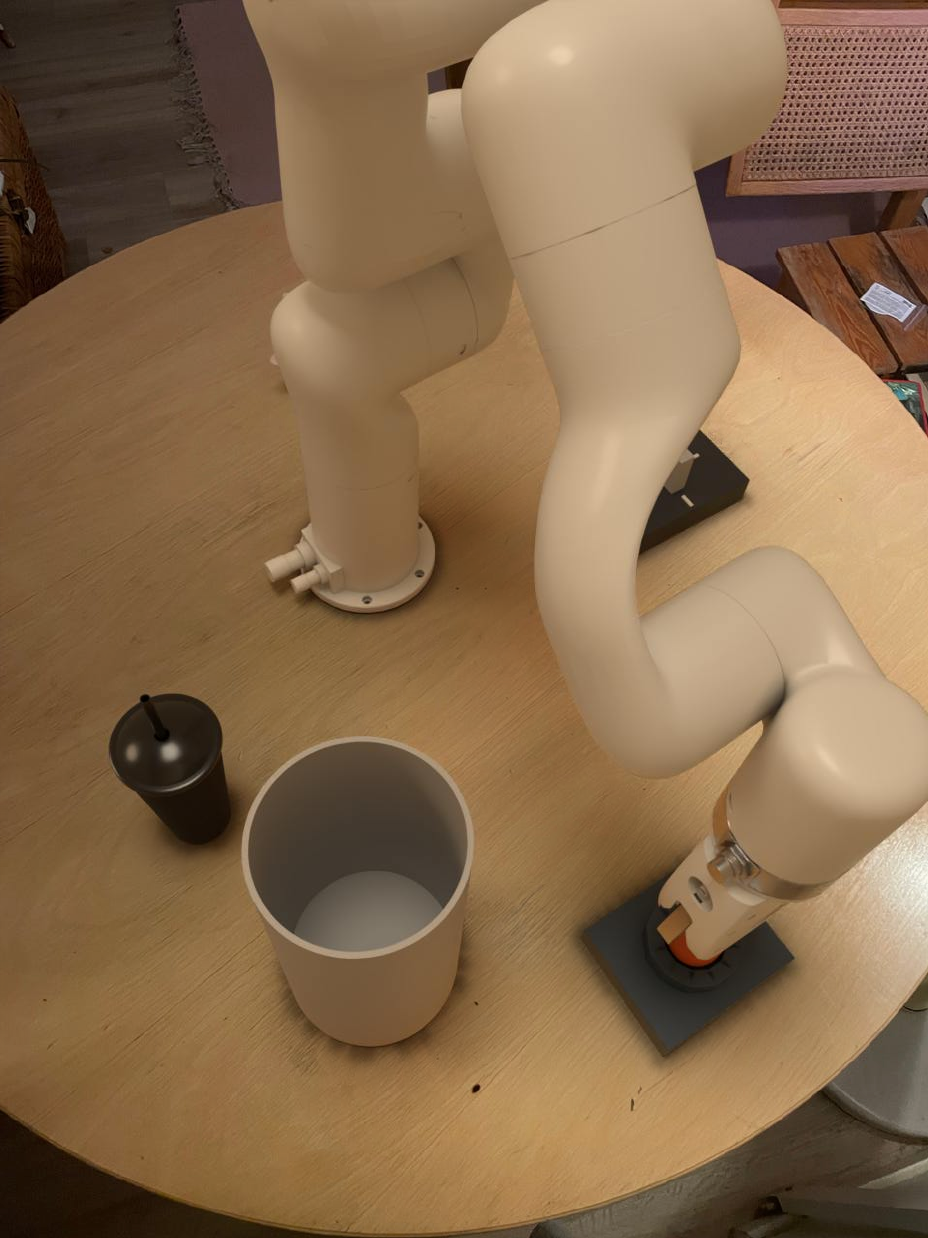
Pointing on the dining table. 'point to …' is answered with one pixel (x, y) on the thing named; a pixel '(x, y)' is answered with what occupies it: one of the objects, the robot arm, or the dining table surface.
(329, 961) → the cylinder vase
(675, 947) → the button
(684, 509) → the panel
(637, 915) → the switch block
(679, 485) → the temp dial
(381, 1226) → the dining table surface
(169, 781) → the drinking cup
